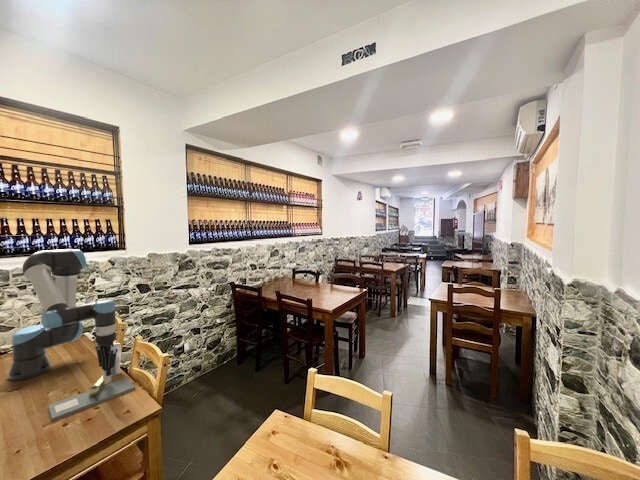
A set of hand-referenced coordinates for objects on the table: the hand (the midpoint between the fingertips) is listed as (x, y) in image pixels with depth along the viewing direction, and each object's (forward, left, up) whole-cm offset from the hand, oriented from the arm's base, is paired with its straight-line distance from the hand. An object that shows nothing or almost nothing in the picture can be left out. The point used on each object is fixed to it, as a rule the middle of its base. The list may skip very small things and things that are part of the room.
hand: (107, 381), depth 128 cm
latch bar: (+1, -3, -1) cm, 4 cm away
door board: (+5, -6, -3) cm, 8 cm away
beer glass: (-13, +5, -3) cm, 14 cm away
